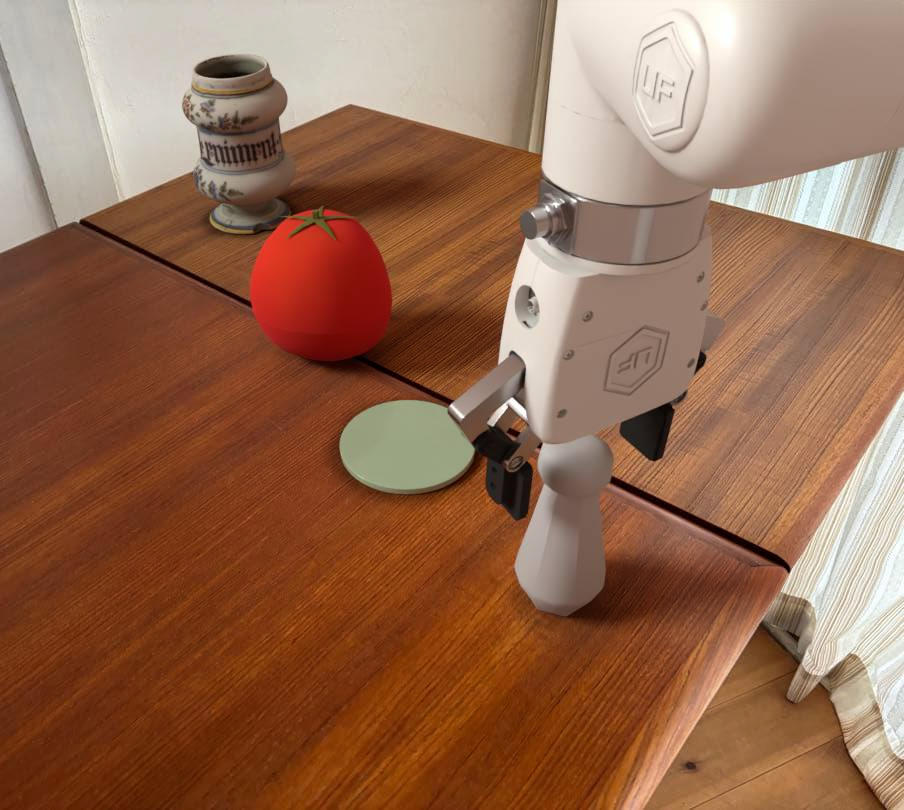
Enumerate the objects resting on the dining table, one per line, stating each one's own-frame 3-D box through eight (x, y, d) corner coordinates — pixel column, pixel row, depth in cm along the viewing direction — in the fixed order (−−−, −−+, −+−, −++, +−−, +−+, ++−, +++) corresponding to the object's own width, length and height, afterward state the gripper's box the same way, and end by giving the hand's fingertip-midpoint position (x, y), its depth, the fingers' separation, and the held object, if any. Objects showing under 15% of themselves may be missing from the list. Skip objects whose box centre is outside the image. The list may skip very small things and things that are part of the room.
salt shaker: (594, 637, 54) (624, 490, 46) (505, 615, 55) (518, 470, 47) (605, 568, 58) (633, 423, 50) (521, 551, 60) (536, 407, 52)
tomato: (396, 320, 84) (393, 185, 75) (389, 390, 75) (384, 246, 66) (271, 319, 85) (253, 186, 76) (249, 388, 76) (226, 246, 67)
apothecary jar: (223, 249, 97) (196, 90, 86) (187, 210, 105) (159, 61, 94) (317, 222, 101) (303, 67, 90) (275, 187, 110) (258, 41, 99)
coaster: (487, 416, 71) (488, 411, 71) (458, 506, 63) (458, 501, 63) (364, 396, 74) (363, 390, 74) (320, 479, 66) (320, 474, 66)
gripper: (510, 296, 33) (486, 574, 44) (821, 194, 39) (733, 463, 50) (416, 220, 39) (415, 485, 50) (703, 140, 44) (646, 394, 55)
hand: (575, 474), depth 50 cm, fingers open, 9 cm apart
